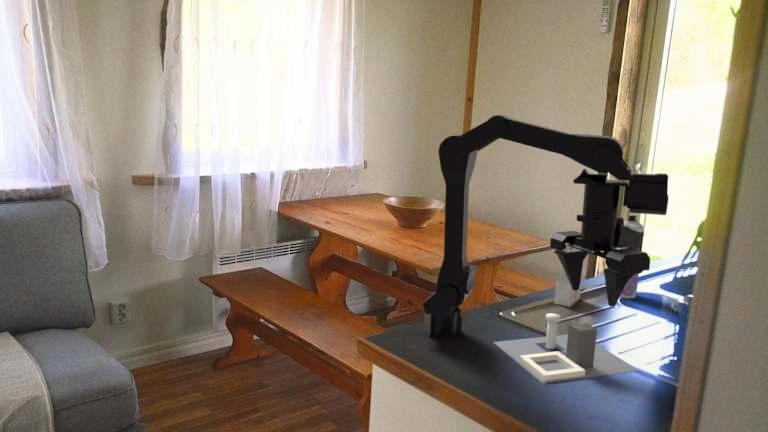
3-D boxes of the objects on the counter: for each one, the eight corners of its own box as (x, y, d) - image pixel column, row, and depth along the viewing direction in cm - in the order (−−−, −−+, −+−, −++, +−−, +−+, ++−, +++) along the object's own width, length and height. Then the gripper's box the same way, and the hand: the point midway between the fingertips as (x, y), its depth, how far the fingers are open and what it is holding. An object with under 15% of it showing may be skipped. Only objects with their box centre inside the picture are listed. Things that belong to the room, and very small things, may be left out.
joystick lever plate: (543, 381, 99) (547, 340, 98) (518, 360, 107) (522, 323, 105) (601, 373, 103) (606, 334, 101) (574, 354, 110) (577, 317, 109)
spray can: (633, 300, 146) (643, 218, 142) (610, 295, 149) (619, 215, 145) (637, 294, 151) (647, 215, 147) (614, 289, 153) (623, 212, 150)
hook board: (541, 391, 99) (545, 347, 98) (492, 349, 115) (495, 311, 113) (638, 378, 105) (643, 337, 103) (578, 340, 121) (582, 303, 119)
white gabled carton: (554, 303, 142) (558, 262, 140) (564, 296, 147) (568, 256, 145) (569, 307, 140) (573, 265, 138) (579, 299, 145) (583, 259, 143)
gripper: (680, 217, 99) (670, 309, 102) (599, 199, 116) (592, 278, 119) (626, 222, 95) (618, 317, 97) (551, 202, 111) (545, 284, 114)
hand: (593, 297), depth 107 cm, fingers open, 9 cm apart
